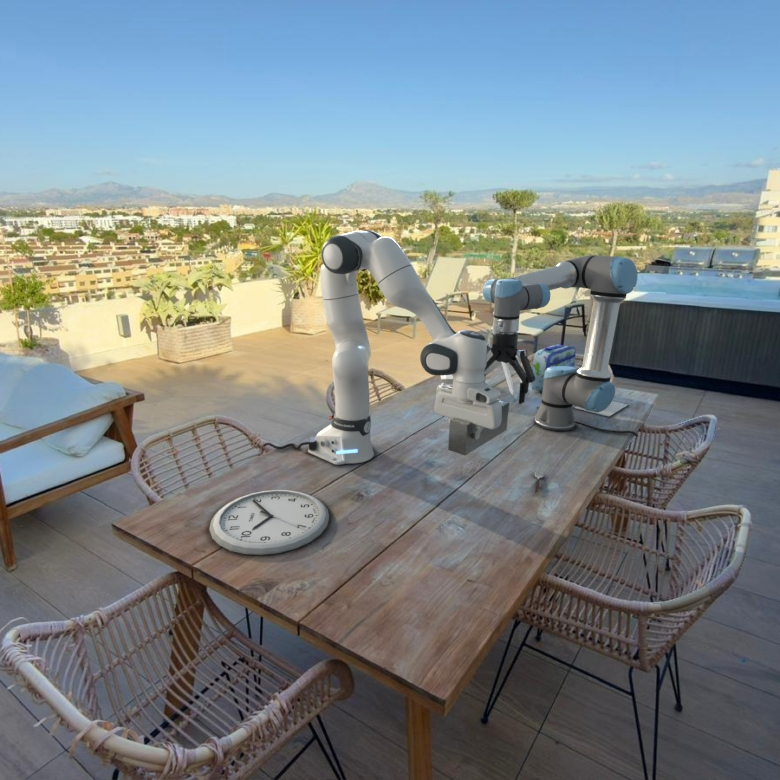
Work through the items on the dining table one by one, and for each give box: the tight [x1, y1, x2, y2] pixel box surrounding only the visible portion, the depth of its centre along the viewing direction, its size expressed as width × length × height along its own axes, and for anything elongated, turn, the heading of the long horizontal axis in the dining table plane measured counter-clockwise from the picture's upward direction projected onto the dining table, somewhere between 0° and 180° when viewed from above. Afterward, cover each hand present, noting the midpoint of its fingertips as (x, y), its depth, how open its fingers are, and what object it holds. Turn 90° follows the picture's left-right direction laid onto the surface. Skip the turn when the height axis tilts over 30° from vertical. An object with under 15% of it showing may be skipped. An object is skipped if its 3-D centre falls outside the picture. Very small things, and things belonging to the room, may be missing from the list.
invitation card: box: [573, 400, 629, 418], centre depth 226 cm, size 21×1×15 cm
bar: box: [447, 399, 510, 456], centre depth 156 cm, size 25×6×9 cm, turn 141°
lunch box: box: [530, 344, 577, 392], centre depth 247 cm, size 26×11×21 cm, turn 134°
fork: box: [534, 465, 545, 494], centre depth 157 cm, size 3×16×2 cm, turn 160°
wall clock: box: [209, 489, 330, 556], centre depth 135 cm, size 30×2×30 cm
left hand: (465, 435), depth 149 cm, fingers closed on bar, 5 cm apart
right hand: (501, 398), depth 164 cm, fingers open, 13 cm apart
